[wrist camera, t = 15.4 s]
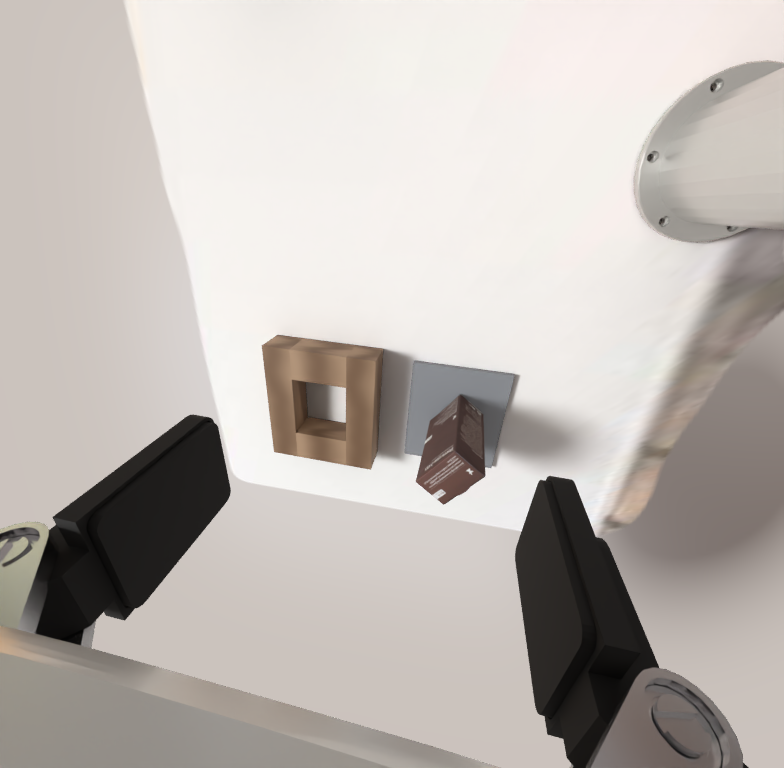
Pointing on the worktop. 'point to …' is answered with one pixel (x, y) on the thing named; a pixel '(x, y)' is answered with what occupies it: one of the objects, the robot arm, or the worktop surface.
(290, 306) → the worktop surface
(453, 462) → the box
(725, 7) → the worktop surface
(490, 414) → the mat
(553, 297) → the worktop surface
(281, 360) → the pocket block
